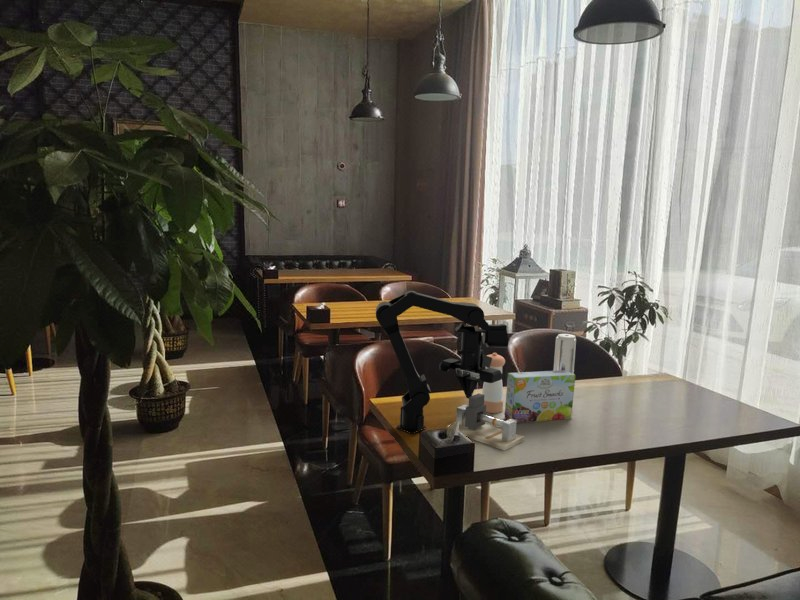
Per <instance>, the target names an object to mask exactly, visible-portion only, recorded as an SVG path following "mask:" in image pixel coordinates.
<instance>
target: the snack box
mask: <svg viewBox="0 0 800 600" xmlns="http://www.w3.org/2000/svg"><path fill="white" fill-rule="evenodd" d="M506 379H507V381H506V391H505V392H506V395H505V405H504V407H505V409H504V419H506V421H507V420H509V419H513V420H516V421H517V423H516V424H520V423H531V422H533V423H535V421H536V422H547V421H548V420H550V421H561V419H564V420H571V419H572V415H573V414H572V413H573V407H574V406H573V404H574V403H573V402H574V394H575V386H576V385H575V383H576V374H575V373H574V374H573V373H571V372H569V371H567V370H560V371H553V370H544V371H543V370H541V371H525V372H524V371H523V372H520V371H519V372H507V378H506ZM548 422H549V421H548Z"/></svg>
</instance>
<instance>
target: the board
mask: <svg viewBox="0 0 800 600" xmlns="http://www.w3.org/2000/svg"><path fill="white" fill-rule="evenodd" d="M450 425H451V424H449V425H447V426H446V428H447V427H449V426H450ZM459 429H460V431H462V432H463V433H464V434H466V435H467V436H468V437H469V438H468V437H467V438H468V439H471V440H474V441H477V442H480V443H482V444H485V445H488V446H491V447H494V448H497V449H499V450H502V451H504V452H505V451H507V450H509V449H511V448H513V447H514V446H517V445H518V444H520V443H522V442H524V441H525V436H523V435H520V434H517V433H516V438H515V439H513V440H511V441H510V442H505V441H502V428H501V427H498V426H494V425H492V424H488V423H485V424H484V425H482V426H480V427H478V428H475V429H471V428H468V427H465V425H463V426H459Z"/></svg>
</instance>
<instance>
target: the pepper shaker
mask: <svg viewBox="0 0 800 600" xmlns="http://www.w3.org/2000/svg"><path fill="white" fill-rule="evenodd" d="M486 356H489V357H491V358H492V361H491V365H490V368H493V369H498V370H500V371H501V373H502V374H503V367H504V366H505V364H506V359H505V358H504V357H503V356H502V355H500V354H498V353H497V352H492V354H487V355H486ZM485 369H488V367H486V366H485ZM482 385H483V386H482V393H481V394H483V395H484V404H485V405H486V413H489V414H498V413H502V412H503V411H504V409H503V408H504V399H503V393H504V387H503V379H502V380H499V381H496V382H494V383H487V382H483V384H482Z"/></svg>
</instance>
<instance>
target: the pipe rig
mask: <svg viewBox="0 0 800 600" xmlns="http://www.w3.org/2000/svg"><path fill="white" fill-rule="evenodd" d="M467 406H469V404H468V405H467V404H462V405H460V406H457V407H456V414H455V415H456V417H455V419H456V421H457V420H458V421H459V426H463V425H465V417H466V407H467ZM477 420H480V421H483V422H485V424H488V425H491V426H494V427H497V428H500V429H502V441H505V442H510V441H511V440H513V439H515V438H516V434H517V424H518V423H517V421H516V420H513V419H509V420H507V419H506V420H502V419H499V418H497V417H492V416H489V415H487V414H486V415H484V414H480V413H477ZM456 421H455V422H456Z"/></svg>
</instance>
